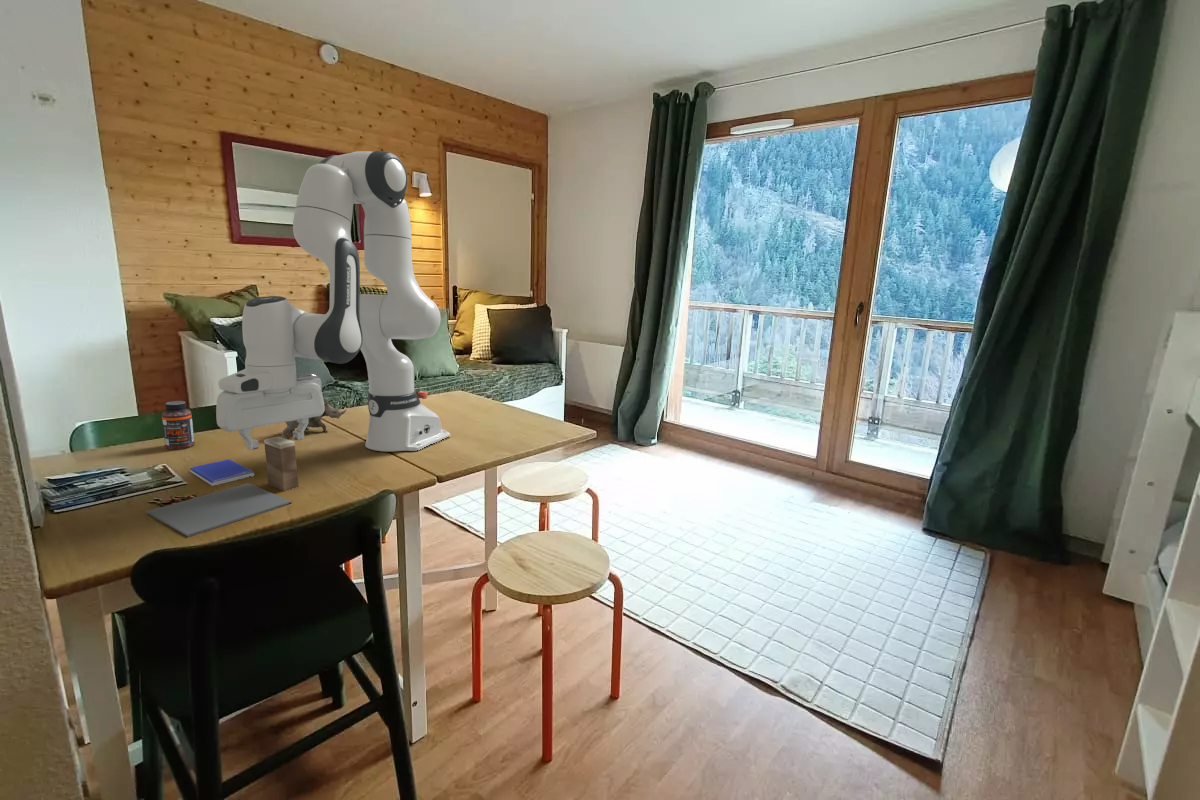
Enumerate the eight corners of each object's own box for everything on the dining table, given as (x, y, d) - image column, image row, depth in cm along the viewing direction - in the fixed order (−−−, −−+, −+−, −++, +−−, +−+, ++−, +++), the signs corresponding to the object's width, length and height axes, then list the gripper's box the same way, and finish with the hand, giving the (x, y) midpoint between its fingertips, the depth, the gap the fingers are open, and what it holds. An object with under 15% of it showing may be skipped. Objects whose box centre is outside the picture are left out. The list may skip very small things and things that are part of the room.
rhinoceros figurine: (260, 427, 152) (293, 379, 154) (305, 446, 162) (335, 402, 165) (271, 436, 147) (305, 387, 150) (316, 455, 157) (347, 409, 160)
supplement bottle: (166, 451, 137) (160, 406, 135) (164, 445, 142) (158, 401, 139) (196, 447, 141) (190, 403, 139) (194, 441, 145) (188, 398, 143)
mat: (248, 484, 120) (248, 482, 119) (291, 503, 111) (291, 501, 111) (146, 513, 105) (146, 511, 104) (187, 537, 96) (187, 534, 96)
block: (282, 480, 123) (278, 436, 120) (298, 487, 120) (294, 441, 117) (268, 484, 120) (264, 439, 118) (284, 491, 117) (280, 445, 115)
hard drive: (254, 471, 124) (230, 458, 132) (211, 481, 118) (189, 467, 125) (254, 477, 125) (231, 465, 132) (212, 488, 118) (190, 474, 126)
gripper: (311, 371, 125) (315, 431, 127) (208, 381, 108) (215, 451, 110) (329, 374, 121) (332, 436, 124) (225, 385, 104) (231, 457, 107)
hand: (276, 443), depth 117 cm, fingers open, 8 cm apart
